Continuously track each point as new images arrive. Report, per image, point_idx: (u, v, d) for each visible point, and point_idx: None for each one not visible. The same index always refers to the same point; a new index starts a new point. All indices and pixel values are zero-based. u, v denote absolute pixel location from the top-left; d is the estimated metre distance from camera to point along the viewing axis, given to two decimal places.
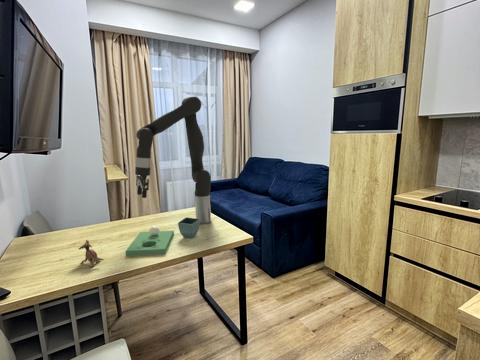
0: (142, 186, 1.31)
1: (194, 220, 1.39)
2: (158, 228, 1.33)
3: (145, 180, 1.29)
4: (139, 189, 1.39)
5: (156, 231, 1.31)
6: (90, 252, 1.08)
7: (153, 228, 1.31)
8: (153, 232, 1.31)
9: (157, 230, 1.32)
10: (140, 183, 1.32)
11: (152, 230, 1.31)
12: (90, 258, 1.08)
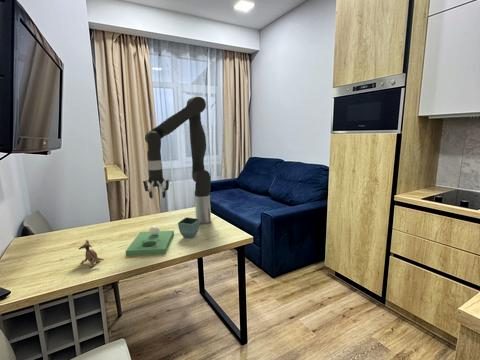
0: (162, 187, 1.40)
1: (194, 220, 1.39)
2: (158, 228, 1.33)
3: (168, 181, 1.40)
4: (151, 193, 1.41)
5: (156, 231, 1.31)
6: (90, 252, 1.08)
7: (153, 228, 1.31)
8: (153, 232, 1.31)
9: (157, 230, 1.32)
10: (159, 185, 1.39)
11: (152, 230, 1.31)
12: (90, 258, 1.08)
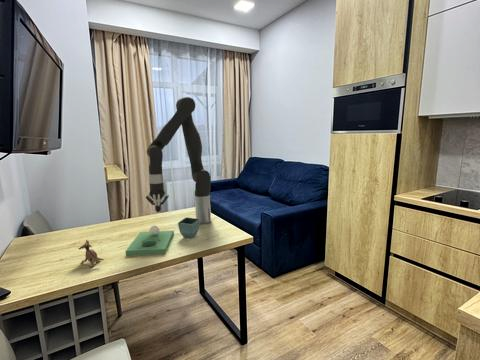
0: (160, 202, 1.41)
1: (194, 220, 1.39)
2: (158, 228, 1.33)
3: (167, 197, 1.42)
4: None
5: (156, 231, 1.31)
6: (90, 252, 1.08)
7: (153, 228, 1.31)
8: (153, 232, 1.31)
9: (157, 230, 1.32)
10: (158, 198, 1.40)
11: (152, 230, 1.31)
12: (90, 258, 1.08)
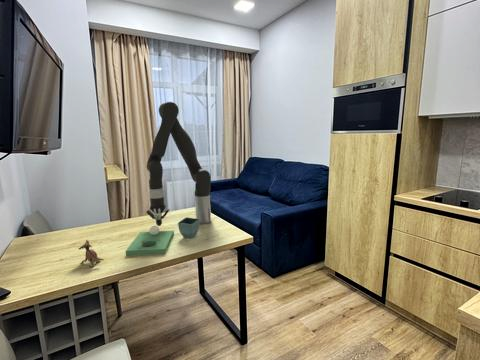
0: (160, 216, 1.42)
1: (194, 220, 1.39)
2: (158, 228, 1.33)
3: (168, 211, 1.42)
4: None
5: (156, 231, 1.31)
6: (90, 252, 1.08)
7: (153, 228, 1.31)
8: (153, 232, 1.31)
9: (157, 230, 1.32)
10: (159, 212, 1.41)
11: (152, 230, 1.31)
12: (90, 258, 1.08)
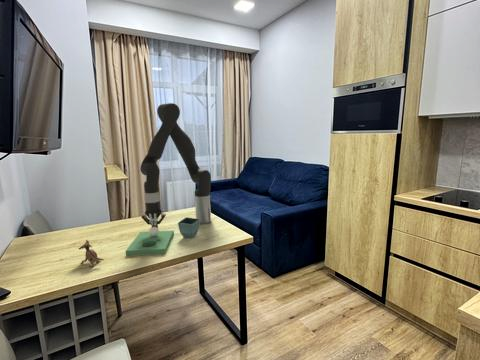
0: (156, 221, 1.33)
1: (194, 220, 1.39)
2: (157, 230, 1.31)
3: (164, 216, 1.34)
4: None
5: (156, 234, 1.30)
6: (90, 252, 1.08)
7: (152, 231, 1.29)
8: (153, 235, 1.30)
9: (157, 232, 1.31)
10: (155, 218, 1.32)
11: (151, 233, 1.29)
12: (90, 258, 1.08)
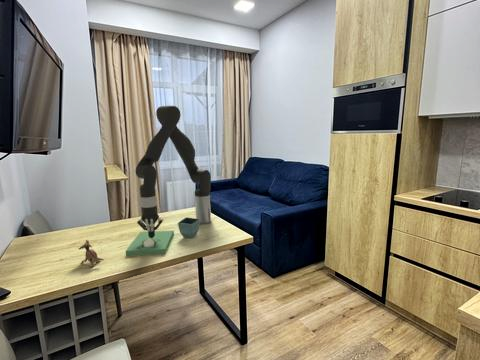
0: (153, 227, 1.26)
1: (194, 220, 1.39)
2: None
3: (162, 221, 1.26)
4: None
5: (152, 240, 1.23)
6: (90, 252, 1.08)
7: None
8: (149, 239, 1.22)
9: (153, 241, 1.23)
10: (152, 223, 1.25)
11: None
12: (90, 258, 1.08)
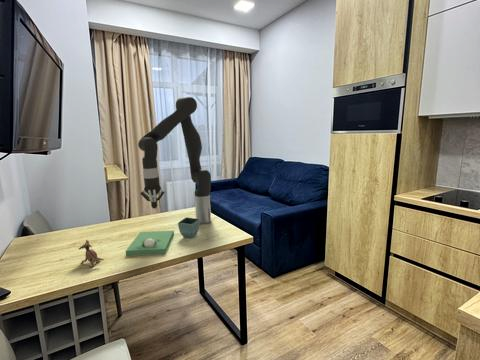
0: (156, 197, 1.33)
1: (194, 220, 1.39)
2: (154, 243, 1.24)
3: (164, 192, 1.33)
4: None
5: None
6: (90, 252, 1.08)
7: None
8: None
9: None
10: (154, 194, 1.32)
11: None
12: (90, 258, 1.08)
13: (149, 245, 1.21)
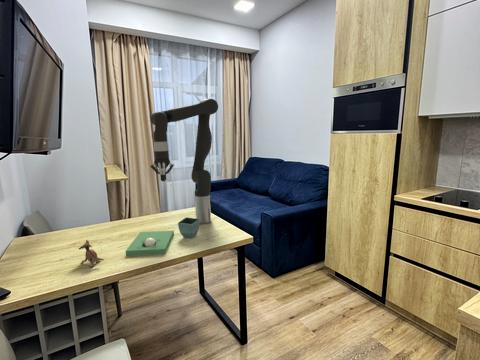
0: (165, 170, 1.38)
1: (194, 220, 1.39)
2: None
3: None
4: None
5: None
6: (90, 252, 1.08)
7: None
8: None
9: None
10: (164, 167, 1.37)
11: None
12: (90, 258, 1.08)
13: (150, 243, 1.21)
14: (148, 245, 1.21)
